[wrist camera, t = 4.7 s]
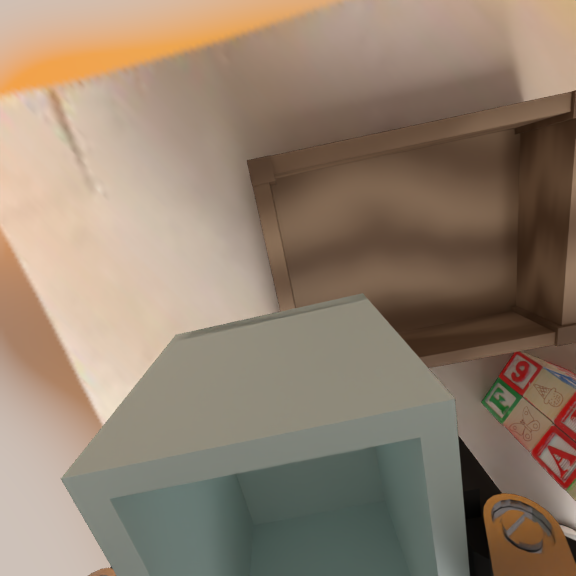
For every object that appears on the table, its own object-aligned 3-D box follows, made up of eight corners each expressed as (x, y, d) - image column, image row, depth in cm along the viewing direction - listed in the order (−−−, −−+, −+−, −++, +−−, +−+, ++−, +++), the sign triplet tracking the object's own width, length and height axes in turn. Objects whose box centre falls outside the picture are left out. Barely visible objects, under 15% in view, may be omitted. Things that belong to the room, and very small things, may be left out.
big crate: (520, 314, 26) (577, 342, 21) (295, 357, 27) (298, 393, 22) (526, 111, 21) (600, 84, 16) (254, 169, 22) (246, 160, 17)
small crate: (396, 494, 12) (481, 712, 7) (245, 522, 13) (218, 752, 7) (362, 293, 10) (454, 399, 5) (175, 334, 10) (61, 479, 5)
